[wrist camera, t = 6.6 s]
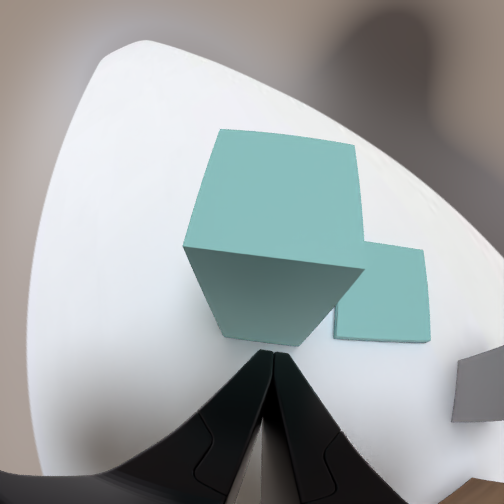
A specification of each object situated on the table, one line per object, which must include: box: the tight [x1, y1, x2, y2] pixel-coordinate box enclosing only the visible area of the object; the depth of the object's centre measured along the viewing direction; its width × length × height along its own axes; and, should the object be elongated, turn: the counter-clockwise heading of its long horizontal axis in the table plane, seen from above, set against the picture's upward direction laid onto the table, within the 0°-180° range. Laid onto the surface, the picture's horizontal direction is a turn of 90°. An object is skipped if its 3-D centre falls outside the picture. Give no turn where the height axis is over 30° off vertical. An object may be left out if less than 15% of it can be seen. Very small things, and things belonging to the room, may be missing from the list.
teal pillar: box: [183, 129, 365, 346], centre depth 12 cm, size 4×4×10 cm
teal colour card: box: [334, 241, 431, 343], centre depth 16 cm, size 6×6×1 cm
